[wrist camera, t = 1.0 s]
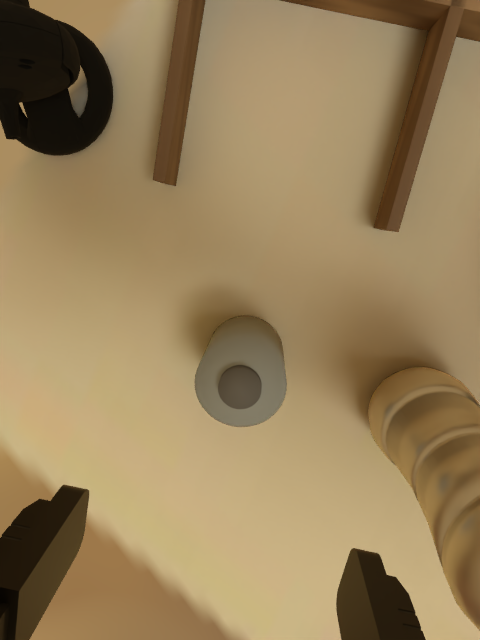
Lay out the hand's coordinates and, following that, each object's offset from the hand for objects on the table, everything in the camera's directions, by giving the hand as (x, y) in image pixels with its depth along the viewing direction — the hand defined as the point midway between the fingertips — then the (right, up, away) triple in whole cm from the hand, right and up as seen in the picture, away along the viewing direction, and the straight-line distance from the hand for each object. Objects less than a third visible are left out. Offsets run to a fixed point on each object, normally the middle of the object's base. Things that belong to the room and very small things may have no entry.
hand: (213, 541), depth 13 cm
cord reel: (+1, +4, +17) cm, 18 cm away
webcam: (-11, +21, +14) cm, 27 cm away
